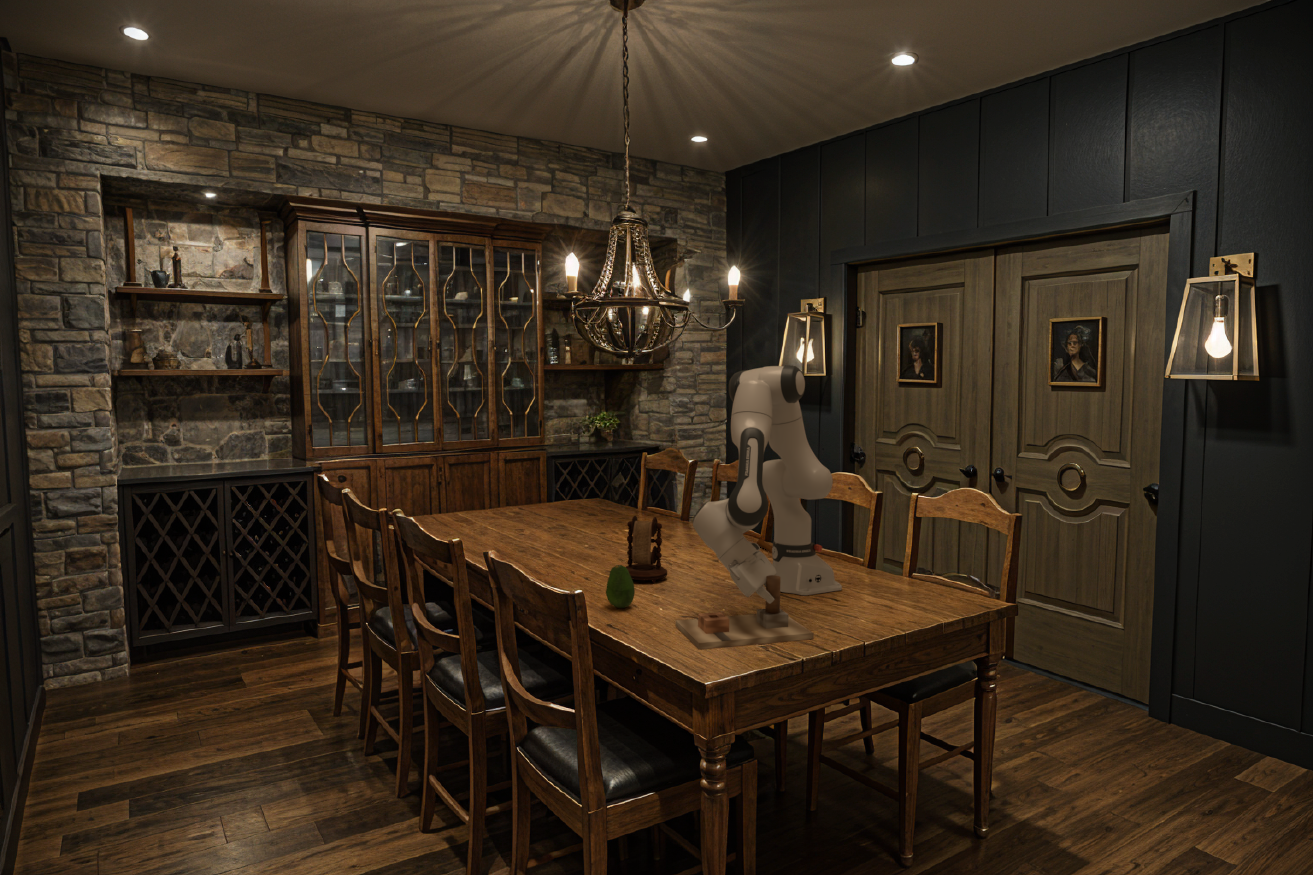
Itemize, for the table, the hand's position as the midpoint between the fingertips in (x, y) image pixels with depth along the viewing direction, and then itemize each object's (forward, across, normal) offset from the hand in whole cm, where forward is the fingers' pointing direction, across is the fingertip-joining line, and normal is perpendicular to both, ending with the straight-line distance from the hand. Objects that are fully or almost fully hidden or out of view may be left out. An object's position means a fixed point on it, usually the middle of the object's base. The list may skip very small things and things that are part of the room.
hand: (775, 599), depth 202 cm
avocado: (-25, 0, +37) cm, 45 cm away
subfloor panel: (+1, -5, +10) cm, 12 cm away
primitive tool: (-11, +88, +23) cm, 92 cm away
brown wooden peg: (+4, 0, +5) cm, 6 cm away
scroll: (-30, +32, +42) cm, 61 cm away
